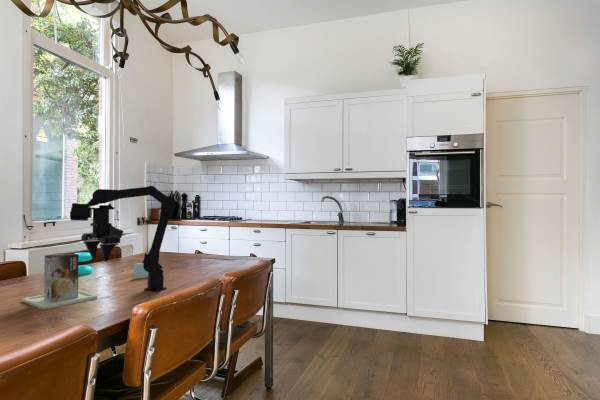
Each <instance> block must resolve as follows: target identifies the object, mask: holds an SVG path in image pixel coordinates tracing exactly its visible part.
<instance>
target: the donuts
mask: <svg viewBox="0 0 600 400" xmlns="http://www.w3.org/2000/svg"><path fill="white" fill-rule="evenodd" d="M74 254H78V263H79V262H89V261H90V260H93V259H92V257H91V255H90V253H89V251H88V252H74ZM93 271H94V269H93V267H92V266H90V265H78V276H85V275H90V274H92V273H93Z"/></svg>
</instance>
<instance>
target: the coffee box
mask: <svg viewBox="0 0 600 400" xmlns="http://www.w3.org/2000/svg"><path fill="white" fill-rule="evenodd" d="M74 253H75V252H74ZM74 253H73V252H66V253H65V252H64V253H55V254H54V253H53V254H45V255H44V265H43V267H44V273H43V276H44V277H43V278H44V279H43V281H44V282H43V283H44V284H43V289H44V290H43V295H44V299H45V300H47V301H50V302H55V301H60V300H65V299H70V298H75V297H78V290H79V275H78V266H79V262H78V254H74Z"/></svg>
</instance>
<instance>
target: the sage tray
mask: <svg viewBox="0 0 600 400" xmlns="http://www.w3.org/2000/svg"><path fill="white" fill-rule="evenodd" d="M97 299H98V295H97V294H94V293H90V292H87V291H84V290H81V289H78V297H75V298H70V299H65V300H60V301H55V302H50V301H47V300H45V299H44V294H40V295H34V296H28V297H22V302H23V303H25V304H28V305H30V306H32V307H35V308H36V309H40V310H41V311H44V310H49V309H53V308H57V307H63V306H68V305H73V304H79V303H82V302H87V301H92V300H97Z"/></svg>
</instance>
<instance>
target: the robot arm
mask: <svg viewBox="0 0 600 400" xmlns="http://www.w3.org/2000/svg"><path fill="white" fill-rule="evenodd" d="M143 196H144V197H146V196H151V197H152V198H153V199H155V200H156V201H158V202H159V203H160V213H159V214H160V215H159V219H158V222H157V226H156V229H155V233H154V237H153V240H152V242H151V243H152V244H151V247H150V249H149V251H145V252H144V258H143V259H142V262H141V263H144V264H143V268H144V270H145V271H147V272H148V273H149V274H148V277H147V287H144V288H143V289H144V290H146V291H150V292H157V291H162V290H166V289H167V287H166V286H164V280H165V279H164V277H165V275H164V267H163V266H162V265H161V264H160V253H161V252H160V251H161V247H162V243H163V240H164V236H165V233H166V230H167V227H168V223H169V219H170V217H171V215H172V213H173V212H174V209H175V208H176V205H177V201H176V199H175V198H174V197H173V196H168V195H166V194H165V193H163V192H161V191H160V190H159V189H157V187H155V186H154V185H148V186H142V187H134V188H125V189H108V188H107V189H106V188H105V189H103V188H98V189H95V190H94V192H93V193H92V197H91V199H90V200H89V201H88V202H87V203H78V202H72V203H71V208H70V212H69V217H70V221H74V222H75V221H84V222H85V221H86V222H87V221H89V219H92V223H90V227H92V232H86V233H85V232H84V233H82V235H81V236H80V237H81V241H82V243H83V244H84V245H85V247H86V249H87V250H88V253H90V255H91V257H92V259H91V260H94V259H96V258H97V254H98V253H97V251H98V246H100V247H99V248H100V251H101V253H102V258H103V260H104V262H108V261H109V258H110V256H111V253H112V251H113V249H114V247H116V246H118V245H119V244H121V239H122V237H123V234H124V230H123V229H120V228H116V226H113V224H112V222H110V210H115V207H114V206H113V205H112V203H110V202H114V201H118V200H120V199H127V198H128V199H129V198H137V197H138V198H139V197H143ZM107 203H108V204H107ZM101 204H102V205H101ZM105 204H106V205H105ZM98 205H99V207H95V206H98Z"/></svg>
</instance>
